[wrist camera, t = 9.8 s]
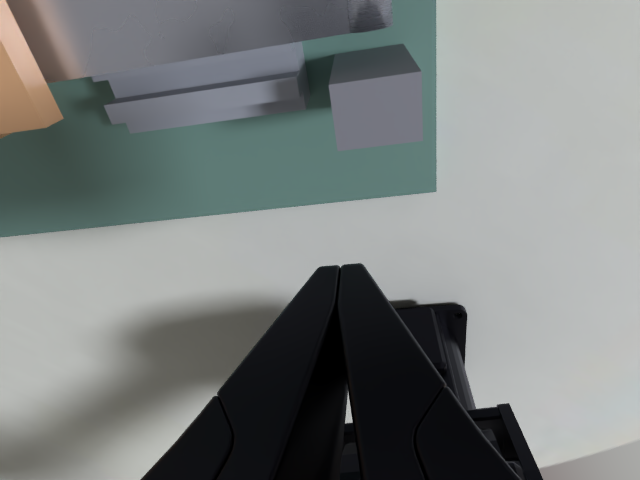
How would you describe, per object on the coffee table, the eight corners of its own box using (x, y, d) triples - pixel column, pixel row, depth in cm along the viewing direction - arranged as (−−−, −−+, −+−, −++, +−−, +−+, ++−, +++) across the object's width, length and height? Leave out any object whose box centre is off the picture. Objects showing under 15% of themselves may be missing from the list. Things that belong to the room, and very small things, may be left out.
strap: (390, 21, 13) (395, 27, 12) (4, 86, 14) (-26, 96, 13) (383, -103, 11) (389, -111, 10) (-51, -15, 13) (-91, -14, 11)
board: (432, 182, 20) (460, 255, 15) (11, 227, 23) (-86, 300, 18) (428, -491, 10) (502, -946, 5) (-302, -249, 13) (-701, -382, 8)
